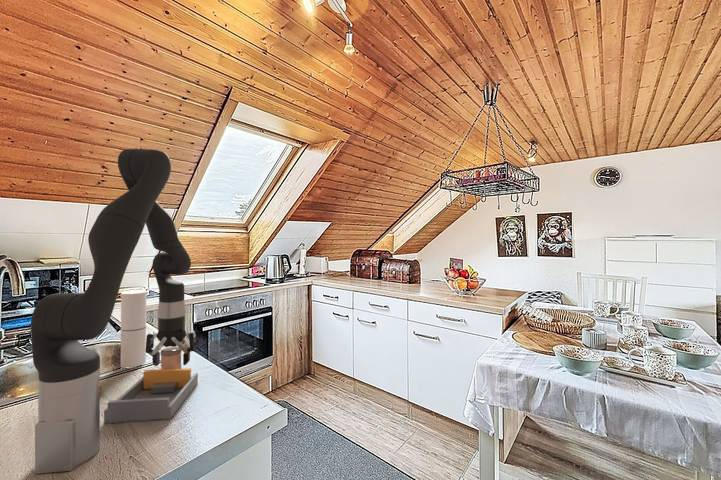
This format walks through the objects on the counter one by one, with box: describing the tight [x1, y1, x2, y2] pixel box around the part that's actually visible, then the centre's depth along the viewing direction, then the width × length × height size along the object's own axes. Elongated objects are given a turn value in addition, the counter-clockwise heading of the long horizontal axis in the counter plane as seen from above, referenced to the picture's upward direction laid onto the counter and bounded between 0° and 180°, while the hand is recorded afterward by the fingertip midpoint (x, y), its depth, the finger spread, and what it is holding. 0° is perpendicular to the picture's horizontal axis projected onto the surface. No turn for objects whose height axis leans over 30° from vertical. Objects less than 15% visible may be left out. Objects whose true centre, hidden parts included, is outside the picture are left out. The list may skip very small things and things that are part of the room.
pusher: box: [142, 367, 192, 393], centre depth 93 cm, size 4×12×5 cm, turn 99°
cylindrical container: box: [120, 289, 147, 369], centre depth 111 cm, size 7×7×25 cm
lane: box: [103, 372, 199, 425], centre depth 87 cm, size 19×15×5 cm
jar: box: [160, 346, 183, 370], centre depth 104 cm, size 6×6×8 cm
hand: (171, 364), depth 104 cm, fingers open, 8 cm apart
